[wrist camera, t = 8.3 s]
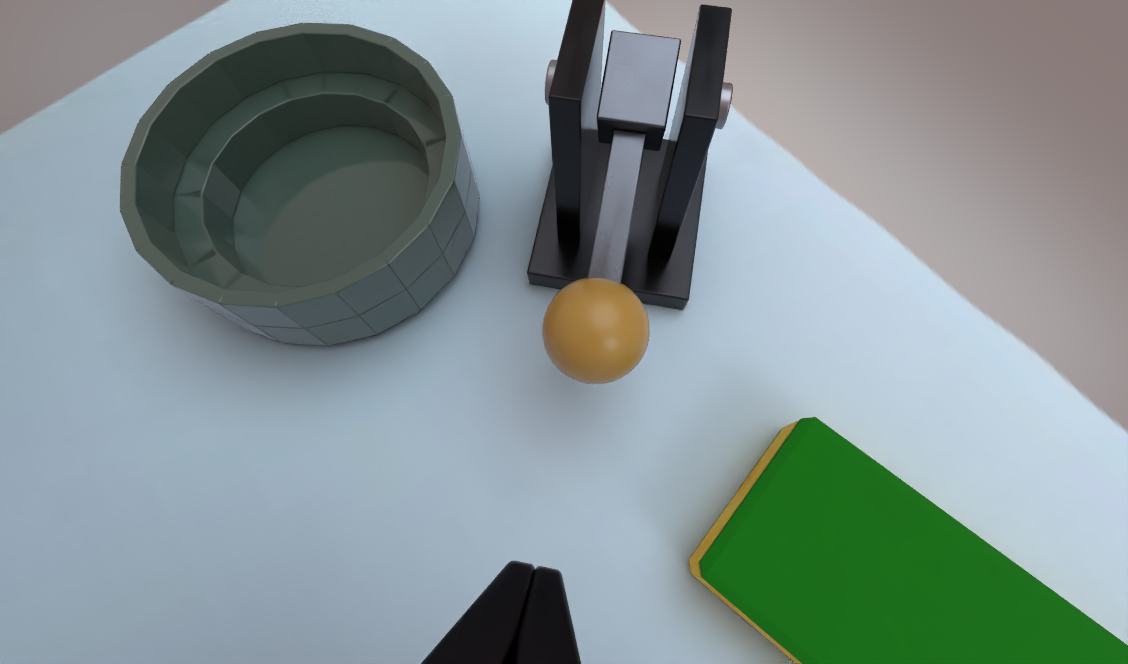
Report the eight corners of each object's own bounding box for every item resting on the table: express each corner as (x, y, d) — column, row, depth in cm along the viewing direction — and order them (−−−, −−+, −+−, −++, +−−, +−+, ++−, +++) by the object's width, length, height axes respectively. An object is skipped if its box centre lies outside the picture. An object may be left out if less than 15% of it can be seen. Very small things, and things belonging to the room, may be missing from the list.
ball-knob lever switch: (683, 310, 24) (748, 177, 15) (529, 284, 25) (500, 141, 16) (703, 161, 27) (769, -31, 18) (562, 140, 28) (555, -55, 18)
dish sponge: (1035, 869, 18) (1103, 919, 15) (682, 566, 21) (695, 570, 19) (1123, 674, 19) (1196, 693, 17) (785, 422, 23) (809, 410, 20)
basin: (506, 309, 25) (489, 257, 20) (206, 381, 24) (115, 344, 19) (453, 83, 29) (429, -4, 24) (198, 137, 28) (123, 58, 23)
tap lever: (636, 386, 20) (642, 399, 17) (541, 369, 21) (526, 378, 17) (690, 83, 20) (707, 30, 16) (592, 70, 20) (588, 15, 17)
